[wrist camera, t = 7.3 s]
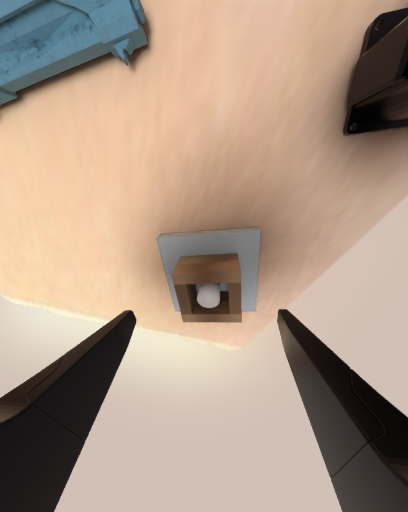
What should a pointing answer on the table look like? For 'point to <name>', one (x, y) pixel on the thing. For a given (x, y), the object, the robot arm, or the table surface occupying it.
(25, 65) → the toy gun
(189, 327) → the table surface
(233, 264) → the collar
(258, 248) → the peg base
